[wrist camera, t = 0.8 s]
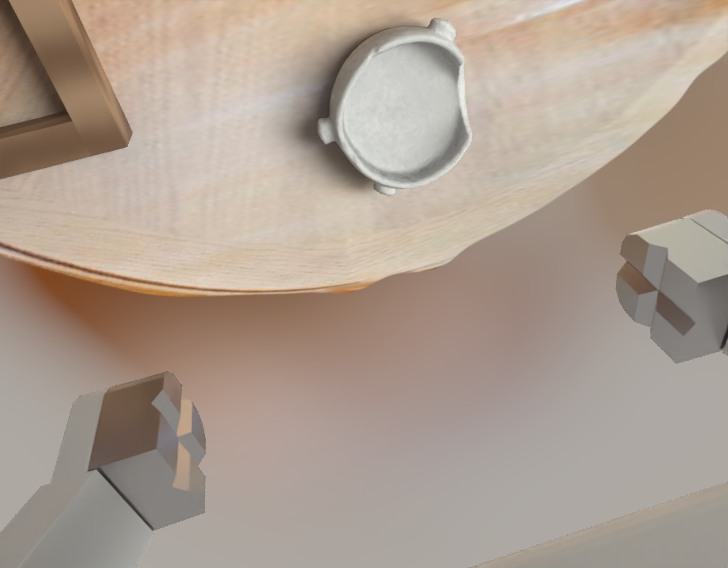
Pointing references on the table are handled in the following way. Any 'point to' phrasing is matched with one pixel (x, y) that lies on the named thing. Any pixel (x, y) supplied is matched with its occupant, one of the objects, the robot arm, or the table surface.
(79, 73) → the collar block
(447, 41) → the dish
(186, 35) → the table surface
